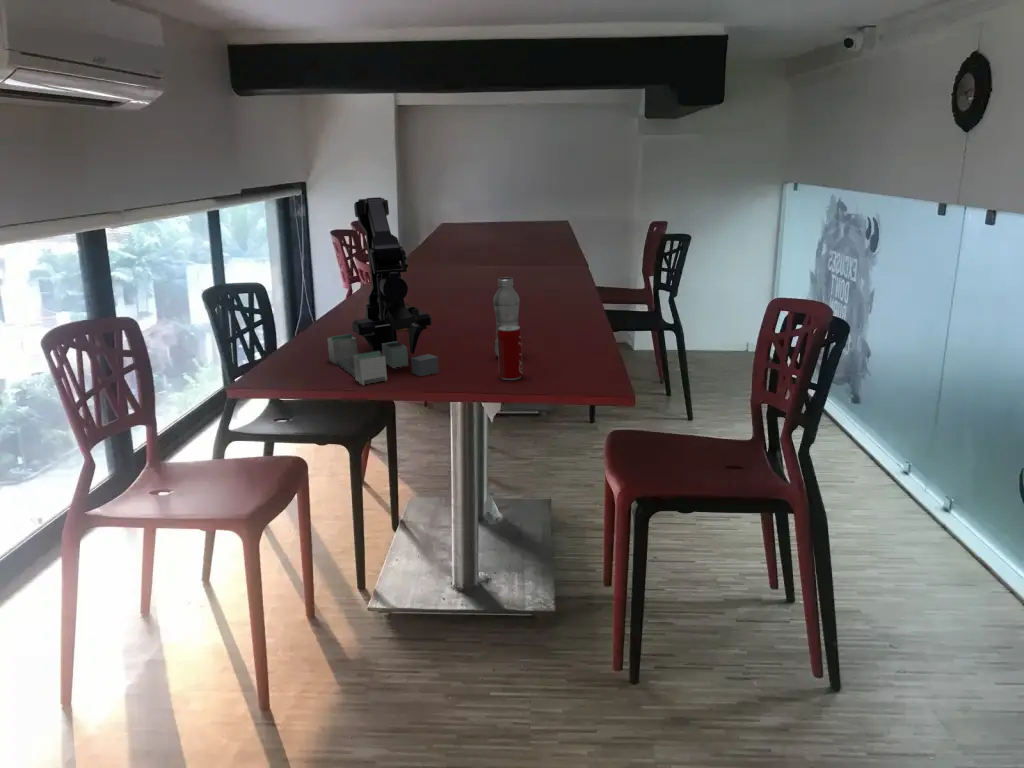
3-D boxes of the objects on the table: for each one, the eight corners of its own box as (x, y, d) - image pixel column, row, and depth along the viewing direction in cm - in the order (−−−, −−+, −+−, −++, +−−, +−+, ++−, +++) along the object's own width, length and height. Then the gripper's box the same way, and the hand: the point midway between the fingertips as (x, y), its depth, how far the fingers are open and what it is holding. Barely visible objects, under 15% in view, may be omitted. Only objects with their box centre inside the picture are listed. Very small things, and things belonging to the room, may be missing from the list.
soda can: (523, 380, 177) (522, 328, 174) (499, 381, 177) (497, 329, 173) (521, 373, 183) (520, 323, 179) (498, 374, 182) (496, 324, 179)
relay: (429, 370, 189) (428, 353, 187) (439, 373, 186) (438, 357, 184) (412, 374, 186) (411, 357, 184) (421, 377, 183) (420, 360, 181)
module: (398, 360, 198) (396, 340, 197) (408, 366, 192) (406, 345, 191) (383, 362, 196) (381, 342, 195) (393, 369, 191) (391, 348, 189)
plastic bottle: (491, 356, 198) (487, 277, 193) (515, 352, 201) (512, 275, 195) (500, 361, 193) (497, 281, 187) (525, 358, 195) (523, 278, 189)
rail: (352, 357, 202) (349, 331, 200) (387, 381, 180) (384, 352, 178) (329, 361, 199) (326, 335, 197) (362, 385, 177) (359, 356, 175)
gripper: (363, 304, 178) (369, 370, 183) (438, 294, 187) (442, 357, 191) (348, 297, 188) (354, 359, 192) (420, 288, 196) (425, 348, 201)
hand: (395, 356), depth 194 cm, fingers open, 9 cm apart
